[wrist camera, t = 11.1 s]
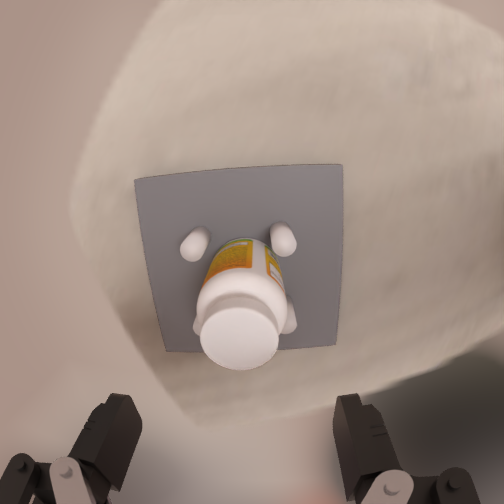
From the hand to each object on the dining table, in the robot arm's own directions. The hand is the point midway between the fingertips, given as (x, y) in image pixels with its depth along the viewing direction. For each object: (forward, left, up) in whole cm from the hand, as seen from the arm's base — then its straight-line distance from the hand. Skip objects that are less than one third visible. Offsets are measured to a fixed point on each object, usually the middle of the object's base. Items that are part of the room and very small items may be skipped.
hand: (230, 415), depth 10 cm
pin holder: (0, 0, -16) cm, 16 cm away
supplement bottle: (0, 0, -15) cm, 15 cm away
